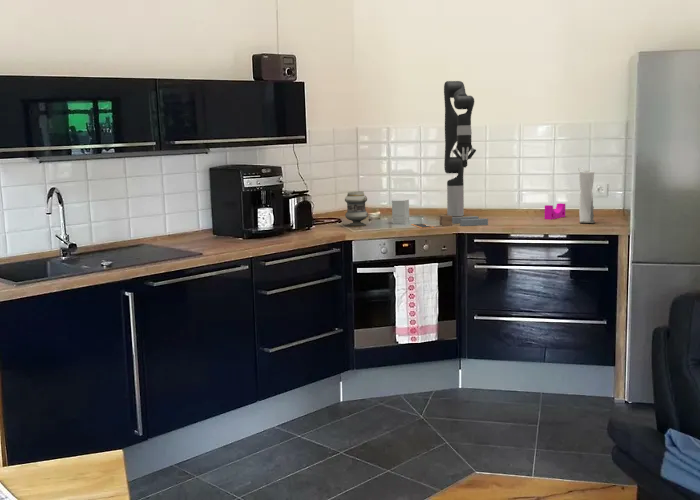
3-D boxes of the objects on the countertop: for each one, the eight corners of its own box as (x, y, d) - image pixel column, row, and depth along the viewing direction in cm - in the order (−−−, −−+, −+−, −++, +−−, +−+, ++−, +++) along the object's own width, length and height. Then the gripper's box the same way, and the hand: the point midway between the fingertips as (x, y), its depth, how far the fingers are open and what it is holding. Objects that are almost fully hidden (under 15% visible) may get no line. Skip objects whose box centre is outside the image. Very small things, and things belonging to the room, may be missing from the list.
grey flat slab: (451, 223, 423) (451, 217, 423) (476, 221, 426) (476, 216, 425) (462, 226, 407) (462, 220, 407) (487, 224, 410) (487, 219, 410)
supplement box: (409, 222, 429) (409, 199, 427) (404, 224, 423) (404, 200, 421) (397, 222, 432) (396, 199, 431) (391, 223, 426) (391, 200, 424)
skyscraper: (576, 222, 411) (577, 167, 407) (578, 221, 418) (579, 167, 414) (593, 222, 408) (594, 167, 404) (595, 221, 415) (596, 167, 411)
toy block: (555, 216, 445) (555, 203, 444) (565, 217, 440) (565, 203, 439) (540, 219, 434) (540, 205, 433) (550, 219, 430) (550, 205, 429)
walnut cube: (439, 225, 415) (439, 215, 415) (448, 224, 416) (448, 215, 416) (442, 226, 410) (442, 216, 410) (452, 225, 411) (452, 216, 411)
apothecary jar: (341, 225, 424) (341, 191, 421) (362, 224, 428) (361, 190, 426) (350, 227, 413) (350, 192, 410) (372, 226, 417) (371, 191, 415)
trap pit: (411, 224, 419) (411, 224, 419) (423, 224, 421) (423, 223, 421) (421, 228, 402) (421, 227, 402) (434, 227, 403) (434, 227, 403)
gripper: (473, 134, 425) (473, 166, 428) (449, 134, 422) (450, 167, 425) (478, 133, 418) (478, 167, 420) (454, 134, 415) (454, 168, 418)
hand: (464, 167), depth 423 cm, fingers closed
